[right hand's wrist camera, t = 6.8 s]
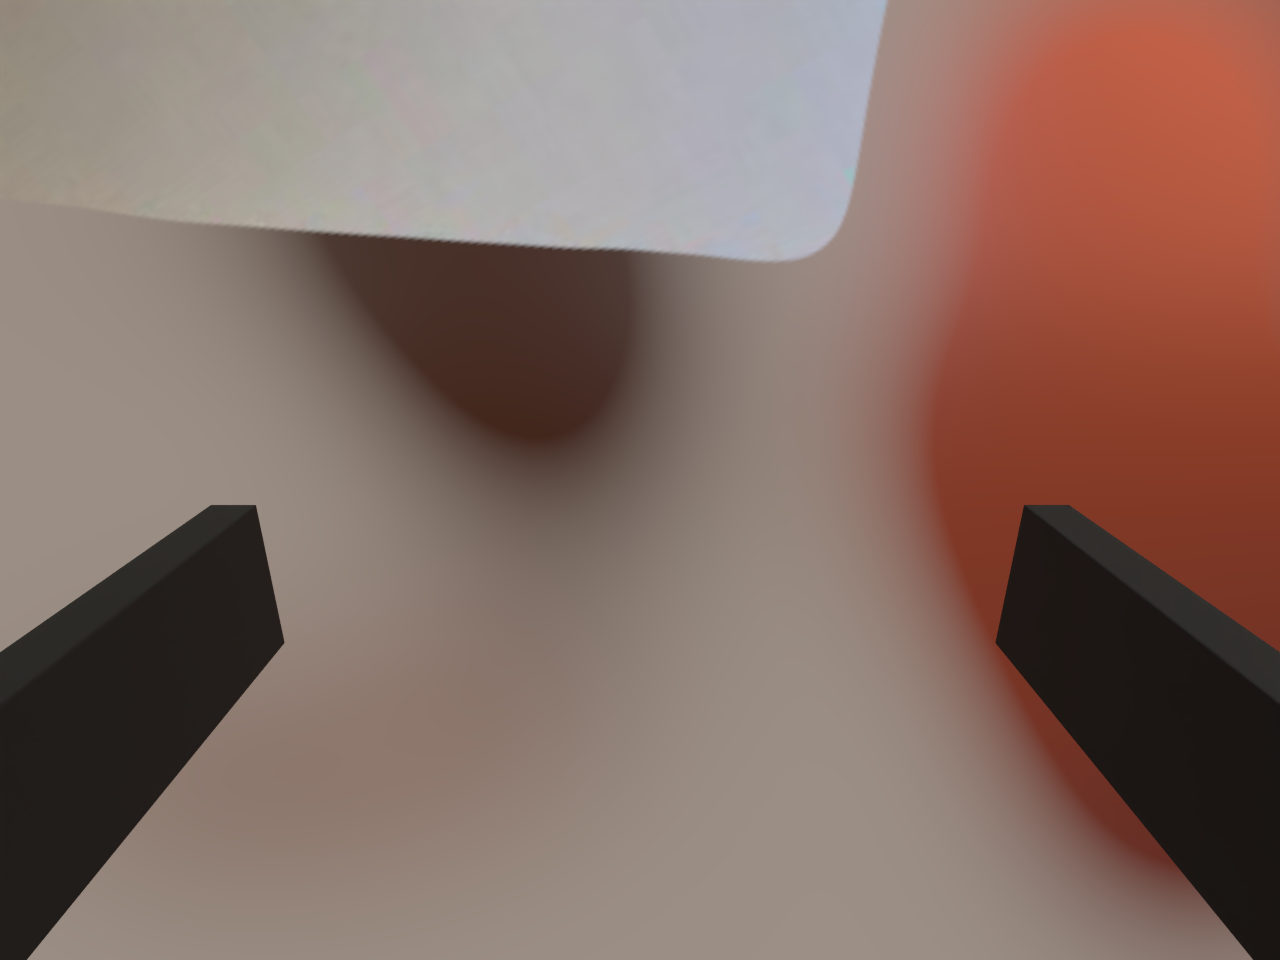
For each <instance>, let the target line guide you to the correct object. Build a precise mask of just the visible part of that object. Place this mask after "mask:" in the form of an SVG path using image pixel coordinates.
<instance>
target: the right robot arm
mask: <svg viewBox="0 0 1280 960" xmlns="http://www.w3.org/2000/svg"><path fill="white" fill-rule="evenodd" d="M283 644H284V638H283V633H282V629H281V624H280V619H279V614H278V609H277V605H276V600H275V595H274V590H273V585H272V581H271V576H270V571H269V566H268V561H267V557H266V552H265V547H264V542H263V537H262V533H261V528H260V523H259V518H258V513H257V509H256V505H211V506H209V507H208V508H206V509H205V510H203V511H202V512H201V513H199V514H198V515H196V516H195V517H193V518H192V519H190V520H189V521H188V522H186V523H185V524H183V525H182V526H180V527H179V528H178V529H176V530H175V531H173V532H172V533H170V534H169V535H168V536H166V537H165V538H163V539H162V540H160V541H159V542H158V543H156V544H155V545H153V546H152V547H150V548H149V549H148V550H146V551H145V552H143V553H142V554H140V555H139V556H137V557H136V558H135V559H133V560H132V561H130V562H129V563H127V564H126V565H125V566H123V567H122V568H120V569H119V570H117V571H116V572H115V573H113V574H112V575H110V576H109V577H107V578H106V579H105V580H103V581H102V582H100V583H99V584H97V585H96V586H95V587H93V588H92V589H90V590H89V591H87V592H86V593H85V594H83V595H82V596H80V597H79V598H77V599H76V600H74V601H73V602H72V603H70V604H69V605H67V606H66V607H65V608H63V609H62V610H60V611H59V612H57V613H56V614H54V615H53V616H52V617H50V618H49V619H47V620H46V621H44V622H43V623H42V624H40V625H39V626H37V627H36V628H34V629H33V630H32V631H30V632H29V633H27V634H26V635H24V636H23V637H21V638H20V639H19V640H17V641H16V642H14V643H13V644H11V645H10V646H9V647H7V648H6V649H4V650H3V651H2V652H0V960H27V959H28V957H29V956H30V955H31V954H32V953H33V951H34V950H35V949H36V948H37V946H38V945H39V944H40V943H41V942H42V940H43V939H44V938H45V937H46V935H47V934H48V933H49V932H50V930H51V929H52V928H53V927H54V926H55V924H56V923H57V922H58V921H59V919H60V918H61V917H62V916H63V914H64V913H65V912H66V911H67V909H68V908H69V907H70V906H71V905H72V903H73V902H74V901H75V900H76V898H77V897H78V896H79V895H80V894H81V892H82V891H83V890H84V889H85V887H86V886H87V885H88V884H89V883H90V881H91V880H92V879H93V878H94V876H95V875H96V874H97V873H98V871H99V870H100V869H101V868H102V867H103V865H104V864H105V863H106V862H107V860H108V859H109V858H110V857H111V855H112V854H113V853H114V852H115V851H116V849H117V848H118V847H119V846H120V844H121V843H122V842H123V841H124V839H125V838H126V837H127V836H128V835H129V833H130V832H131V831H132V830H133V828H134V827H135V826H136V825H137V823H138V822H139V821H140V820H141V819H142V817H143V816H144V815H145V814H146V812H147V811H148V810H149V809H150V808H151V806H152V805H153V804H154V802H155V801H156V800H157V799H158V798H159V796H160V795H161V794H162V793H163V792H164V790H165V789H166V788H167V787H168V785H169V784H170V783H171V782H172V780H173V779H174V778H175V777H176V776H177V774H178V773H179V772H180V771H181V769H182V768H183V767H184V766H185V764H186V763H187V762H188V761H189V759H190V758H191V757H192V756H193V755H194V753H195V752H196V751H197V750H198V748H199V747H200V746H201V745H202V744H203V742H204V741H205V740H206V739H207V737H208V736H209V735H210V734H211V732H212V731H213V730H214V729H215V728H216V726H217V725H218V724H219V723H220V721H221V720H222V719H223V718H224V716H225V715H226V714H227V713H228V712H229V710H230V709H231V708H232V707H233V705H234V704H235V703H236V702H237V701H238V699H239V698H240V697H241V696H242V694H243V693H244V692H245V691H246V689H247V688H248V687H249V686H250V685H251V683H252V682H253V681H254V680H255V678H256V677H257V676H258V675H259V673H260V672H261V671H262V670H263V669H264V667H265V666H266V665H267V664H268V662H269V661H270V660H271V659H272V657H273V656H274V655H275V654H276V653H277V651H278V650H279V649H280V648H281V646H282V645H283ZM996 644H997V645H998V646H999V648H1000V649H1001V650H1002V651H1003V653H1004V654H1005V655H1006V656H1007V657H1008V659H1009V660H1010V661H1011V662H1012V664H1013V665H1014V666H1015V667H1016V669H1017V670H1018V671H1019V672H1020V673H1021V675H1022V676H1023V677H1024V678H1025V680H1026V681H1027V682H1028V683H1029V685H1030V686H1031V687H1032V688H1033V689H1034V691H1035V692H1036V693H1037V694H1038V696H1039V697H1040V698H1041V699H1042V701H1043V702H1044V703H1045V704H1046V705H1047V707H1048V708H1049V709H1050V710H1051V712H1052V713H1053V714H1054V715H1055V716H1056V718H1057V719H1058V720H1059V721H1060V723H1061V724H1062V725H1063V726H1064V728H1065V729H1066V730H1067V731H1068V732H1069V734H1070V735H1071V736H1072V737H1073V739H1074V740H1075V741H1076V742H1077V744H1078V745H1079V746H1080V747H1081V748H1082V750H1083V751H1084V752H1085V753H1086V755H1087V756H1088V757H1089V758H1090V760H1091V761H1092V762H1093V763H1094V764H1095V766H1096V767H1097V768H1098V769H1099V771H1100V772H1101V773H1102V774H1103V775H1104V777H1105V778H1106V779H1107V780H1108V782H1109V783H1110V784H1111V785H1112V787H1113V788H1114V789H1115V790H1116V791H1117V793H1118V794H1119V795H1120V796H1121V798H1122V799H1123V800H1124V801H1125V803H1126V804H1127V805H1128V806H1129V808H1130V809H1131V810H1132V811H1133V812H1134V814H1135V815H1136V816H1137V817H1138V818H1139V820H1140V821H1141V822H1142V823H1143V825H1144V826H1145V827H1146V828H1147V829H1148V831H1149V832H1150V833H1151V835H1152V836H1153V837H1154V838H1155V839H1156V841H1157V842H1158V843H1159V844H1160V846H1161V847H1162V848H1163V849H1164V851H1165V852H1166V853H1167V854H1168V855H1169V857H1170V858H1171V859H1172V860H1173V862H1174V863H1175V864H1176V865H1177V866H1178V868H1179V869H1180V870H1181V871H1182V873H1183V874H1184V875H1185V876H1186V878H1187V879H1188V880H1189V881H1190V883H1191V884H1192V885H1193V886H1194V887H1195V889H1196V890H1197V891H1198V892H1199V894H1200V895H1201V896H1202V897H1203V899H1204V900H1205V901H1206V902H1207V903H1208V905H1209V906H1210V907H1211V908H1212V910H1213V911H1214V912H1215V913H1216V914H1217V916H1218V917H1219V918H1220V919H1221V921H1222V922H1223V923H1224V924H1225V926H1226V927H1227V928H1228V929H1229V930H1230V932H1231V933H1232V934H1233V935H1234V937H1235V938H1236V939H1237V940H1238V941H1239V943H1240V944H1241V945H1242V946H1243V948H1244V949H1245V950H1246V951H1247V953H1248V954H1249V955H1250V956H1251V958H1252V959H1253V960H1280V652H1279V651H1277V650H1276V649H1274V648H1273V647H1271V646H1270V645H1269V644H1267V643H1266V642H1264V641H1263V640H1261V639H1260V638H1259V637H1257V636H1256V635H1254V634H1253V633H1251V632H1250V631H1248V630H1247V629H1246V628H1244V627H1243V626H1241V625H1240V624H1238V623H1237V622H1236V621H1234V620H1233V619H1231V618H1230V617H1228V616H1227V615H1226V614H1224V613H1223V612H1221V611H1220V610H1218V609H1217V608H1216V607H1214V606H1213V605H1211V604H1210V603H1208V602H1207V601H1206V600H1204V599H1203V598H1201V597H1200V596H1198V595H1197V594H1195V593H1194V592H1193V591H1191V590H1190V589H1188V588H1187V587H1185V586H1184V585H1183V584H1181V583H1180V582H1178V581H1177V580H1175V579H1174V578H1172V577H1171V576H1170V575H1168V574H1167V573H1165V572H1164V571H1163V570H1161V569H1160V568H1158V567H1157V566H1155V565H1154V564H1153V563H1151V562H1150V561H1148V560H1147V559H1145V558H1144V557H1142V556H1141V555H1140V554H1138V553H1137V552H1135V551H1134V550H1132V549H1131V548H1130V547H1128V546H1127V545H1125V544H1124V543H1122V542H1121V541H1120V540H1118V539H1117V538H1115V537H1114V536H1112V535H1111V534H1110V533H1108V532H1107V531H1105V530H1104V529H1102V528H1101V527H1100V526H1098V525H1097V524H1095V523H1094V522H1092V521H1091V520H1089V519H1088V518H1087V517H1085V516H1084V515H1082V514H1081V513H1079V512H1078V511H1077V510H1075V509H1074V508H1072V507H1071V506H1069V505H1024V508H1023V513H1022V518H1021V523H1020V528H1019V532H1018V537H1017V542H1016V547H1015V552H1014V556H1013V562H1012V566H1011V571H1010V576H1009V580H1008V585H1007V590H1006V595H1005V600H1004V605H1003V610H1002V614H1001V619H1000V624H999V629H998V633H997V638H996Z"/></svg>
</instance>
